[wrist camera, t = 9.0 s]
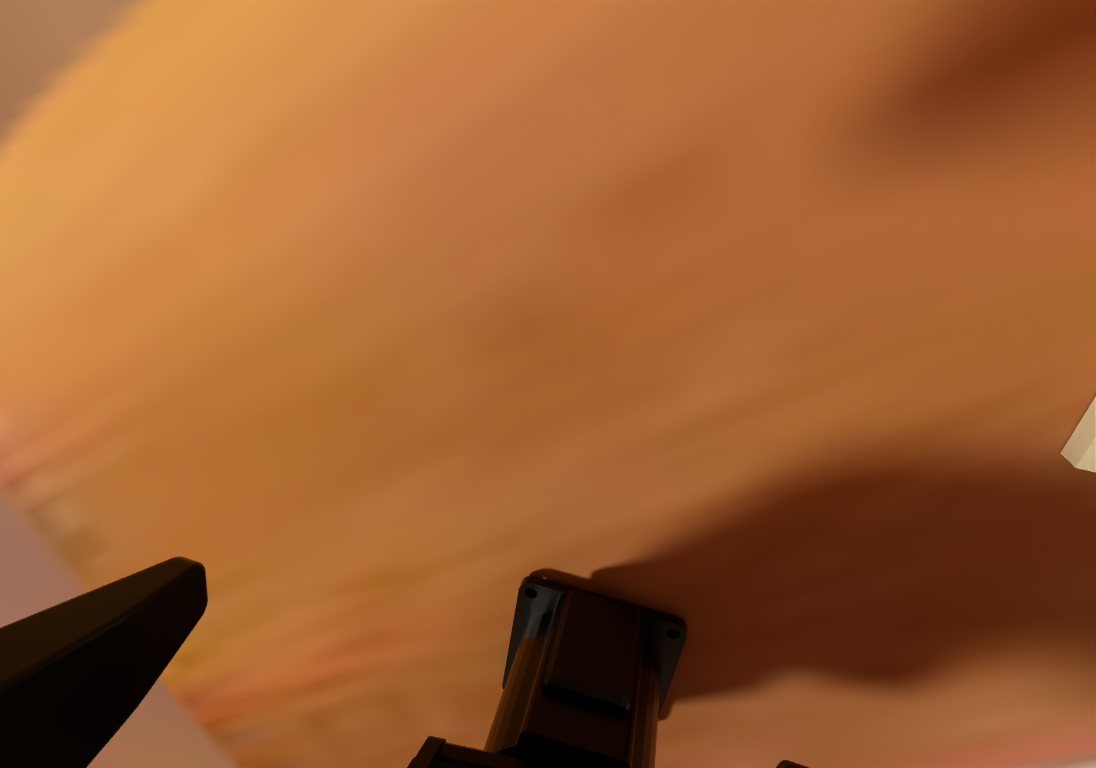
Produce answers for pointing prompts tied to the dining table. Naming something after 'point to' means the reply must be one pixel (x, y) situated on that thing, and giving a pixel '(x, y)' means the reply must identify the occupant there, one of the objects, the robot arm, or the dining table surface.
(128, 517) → the dining table surface
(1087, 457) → the cream base plate
